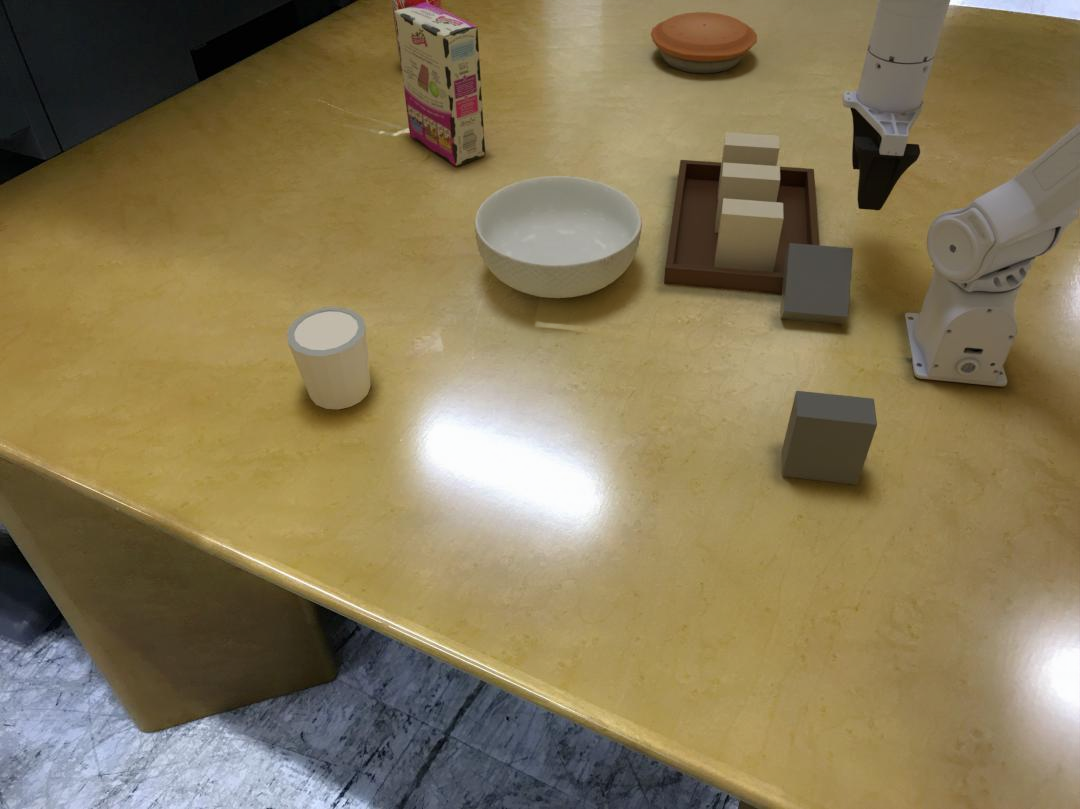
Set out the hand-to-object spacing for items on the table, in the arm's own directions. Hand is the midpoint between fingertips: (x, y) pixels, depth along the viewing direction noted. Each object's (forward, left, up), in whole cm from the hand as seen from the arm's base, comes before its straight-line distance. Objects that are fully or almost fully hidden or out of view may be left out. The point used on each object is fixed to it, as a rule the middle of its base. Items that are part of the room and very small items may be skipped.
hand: (866, 187), depth 89 cm
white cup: (-27, +47, -10) cm, 55 cm away
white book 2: (+5, +11, -9) cm, 15 cm away
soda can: (+44, +59, -10) cm, 74 cm away
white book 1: (+12, +11, -9) cm, 19 cm away
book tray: (+4, +11, -9) cm, 15 cm away
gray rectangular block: (-11, +4, -8) cm, 15 cm away
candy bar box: (+20, +49, -10) cm, 54 cm away
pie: (+52, +18, -10) cm, 56 cm away
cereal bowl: (-6, +30, -10) cm, 32 cm away
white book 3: (-3, +11, -9) cm, 14 cm away
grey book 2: (-30, +4, -9) cm, 32 cm away
